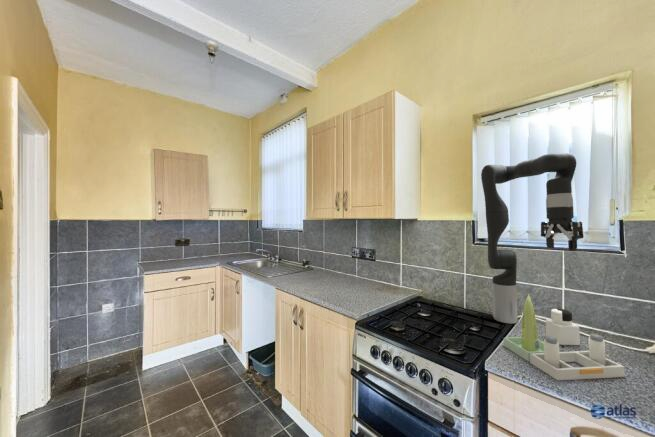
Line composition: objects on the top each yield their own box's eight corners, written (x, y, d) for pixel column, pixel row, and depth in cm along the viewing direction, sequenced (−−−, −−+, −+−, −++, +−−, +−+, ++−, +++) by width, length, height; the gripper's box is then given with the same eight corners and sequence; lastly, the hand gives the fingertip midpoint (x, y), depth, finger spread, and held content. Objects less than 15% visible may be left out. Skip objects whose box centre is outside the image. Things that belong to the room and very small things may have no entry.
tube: (516, 346, 94) (515, 293, 94) (530, 346, 94) (528, 293, 94) (529, 354, 88) (527, 298, 89) (543, 354, 88) (541, 297, 89)
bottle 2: (586, 365, 82) (584, 333, 83) (596, 364, 83) (595, 333, 83) (598, 371, 79) (597, 338, 79) (609, 371, 79) (608, 338, 79)
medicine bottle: (564, 337, 102) (563, 307, 102) (580, 345, 95) (579, 313, 95) (545, 336, 103) (544, 306, 103) (559, 345, 96) (558, 313, 96)
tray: (503, 345, 96) (503, 337, 96) (532, 344, 97) (532, 336, 97) (528, 361, 85) (528, 352, 85) (560, 360, 86) (560, 351, 86)
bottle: (541, 367, 82) (540, 335, 82) (552, 367, 82) (551, 335, 82) (552, 374, 78) (550, 340, 78) (563, 373, 78) (562, 340, 78)
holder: (530, 362, 85) (530, 353, 85) (590, 359, 86) (590, 350, 86) (558, 381, 75) (558, 370, 75) (626, 377, 76) (625, 367, 76)
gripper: (533, 207, 103) (535, 247, 102) (568, 205, 88) (570, 251, 88) (551, 207, 103) (553, 247, 103) (589, 204, 89) (591, 251, 88)
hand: (561, 249), depth 95 cm, fingers open, 8 cm apart
